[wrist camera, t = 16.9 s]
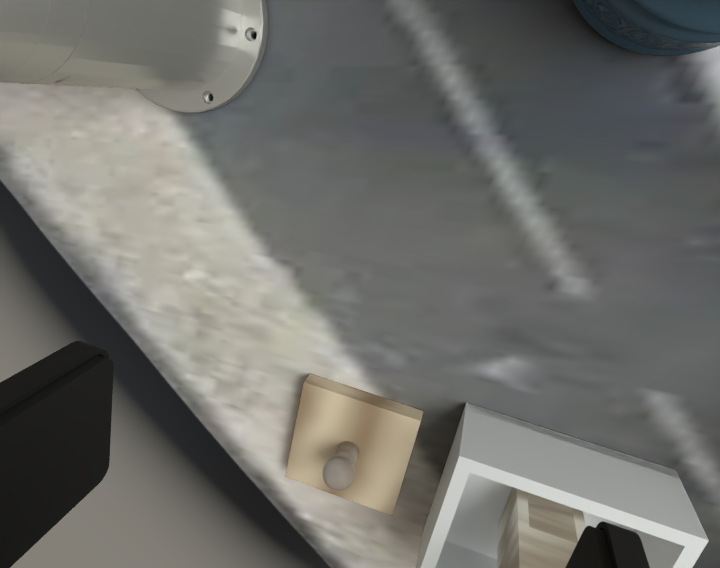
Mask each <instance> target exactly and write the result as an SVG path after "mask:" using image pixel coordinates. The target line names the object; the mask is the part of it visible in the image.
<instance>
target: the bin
mask: <svg viewBox="0 0 720 568" xmlns="http://www.w3.org/2000/svg"><path fill="white" fill-rule="evenodd" d="M513 487H514V488H517V489H520V490H522V491H525V492H528V493H531V494H534V495H537V496H540V497H543V498H546V499H549V500H552V501H554V502H557V503H560V504H563V505H566V506H569V507H572V508H575V509H578V510H581V511H583V514H584V520H585V525H586V527H587V526H592V527H595V528H596V526H597V525H598V524H599V523H600V522H603V521H604V522H607V523H610V524H613V525H616V526H618V527H621V528H624V529H627V530H630V531H633V532H636V533H637V534H638V535H639V537H640V539H641V541H642V544H643V548H644V551H645V554H646V557H647V560H648V563H649V567H650V568H692V567H693V566H694V564H695V562H696V561H697V559H698V557H699V556H700V554H701V552H702V551H703V549H704V547H705V546H706V544H707V542H708V541H709V540H708V538H707V536H706V534H705V532H704V529H703V527H702V525H701V523H700V521H699V519H698V517H697V514H696V512H695V510H694V508H693V506H692V504H691V502H690V499H689V497H688V495H687V493H686V491H685V489H684V487H683V484H682V482H681V480H680V478H679V476H678V474H677V472H676V470H674V469H671V468H668V467H665V466H662V465H659V464H656V463H652V462H649V461H646V460H643V459H640V458H637V457H634V456H631V455H628V454H625V453H621V452H618V451H615V450H612V449H609V448H606V447H603V446H600V445H597V444H593V443H590V442H587V441H584V440H581V439H578V438H575V437H572V436H569V435H566V434H562V433H559V432H556V431H553V430H550V429H547V428H544V427H541V426H538V425H534V424H531V423H528V422H525V421H522V420H519V419H516V418H513V417H510V416H507V415H503V414H500V413H497V412H494V411H491V410H488V409H485V408H482V407H479V406H476V405H472V404H469V403H466V405H465V408H464V411H463V414H462V417H461V420H460V422H459V425H458V428H457V431H456V434H455V437H454V440H453V443H452V446H451V449H450V452H449V455H448V458H447V461H446V464H445V467H444V470H443V473H442V476H441V479H440V482H439V485H438V488H437V491H436V494H435V497H434V500H433V503H432V506H431V509H430V512H429V515H428V518H427V521H426V524H425V527H424V530H423V533H422V538H421V543H420V549H419V554H418V559H417V564H416V568H497V537H498V522H499V520H500V517H501V515H502V512H503V510H504V507H505V505H506V503H507V500H508V498H509V495H510V493H511V490H512V488H513Z"/></svg>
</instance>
